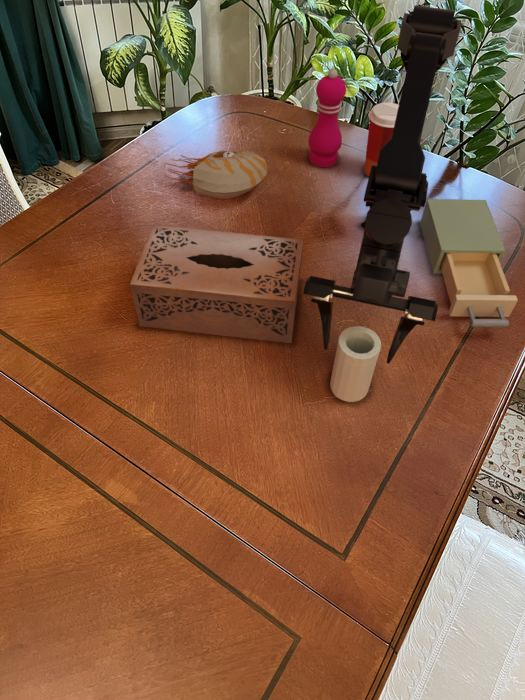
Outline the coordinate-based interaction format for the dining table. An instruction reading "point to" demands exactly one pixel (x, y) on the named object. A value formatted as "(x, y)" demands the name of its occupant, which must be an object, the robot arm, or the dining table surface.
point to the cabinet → (458, 229)
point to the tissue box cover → (218, 283)
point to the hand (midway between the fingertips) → (356, 356)
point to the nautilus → (224, 173)
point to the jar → (354, 363)
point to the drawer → (477, 288)
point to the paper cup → (379, 131)
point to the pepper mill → (327, 121)
